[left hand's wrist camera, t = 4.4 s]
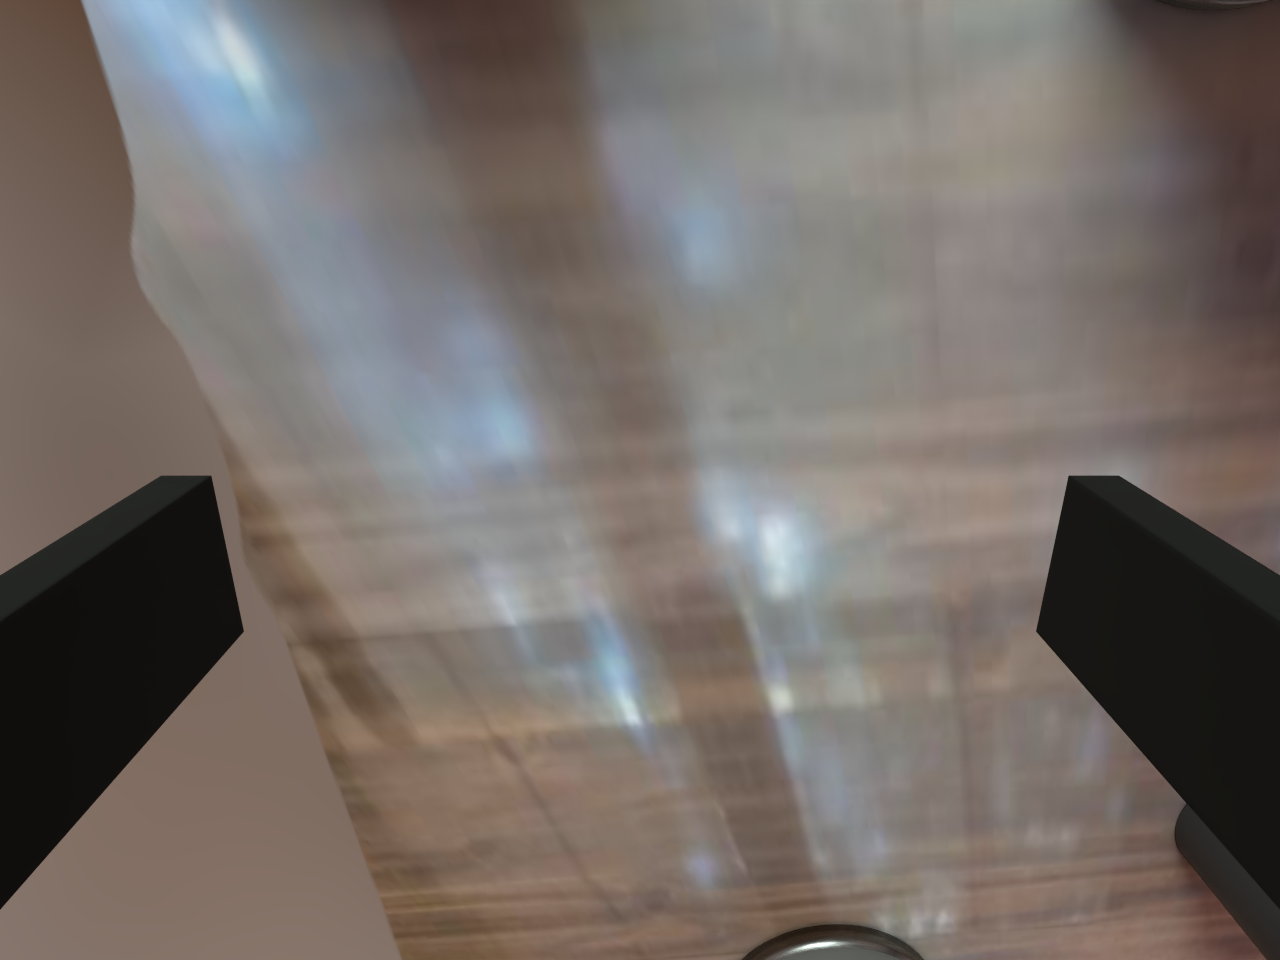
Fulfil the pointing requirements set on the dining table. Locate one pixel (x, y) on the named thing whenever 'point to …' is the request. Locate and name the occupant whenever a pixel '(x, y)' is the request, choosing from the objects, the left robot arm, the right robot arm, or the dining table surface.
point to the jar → (1230, 883)
